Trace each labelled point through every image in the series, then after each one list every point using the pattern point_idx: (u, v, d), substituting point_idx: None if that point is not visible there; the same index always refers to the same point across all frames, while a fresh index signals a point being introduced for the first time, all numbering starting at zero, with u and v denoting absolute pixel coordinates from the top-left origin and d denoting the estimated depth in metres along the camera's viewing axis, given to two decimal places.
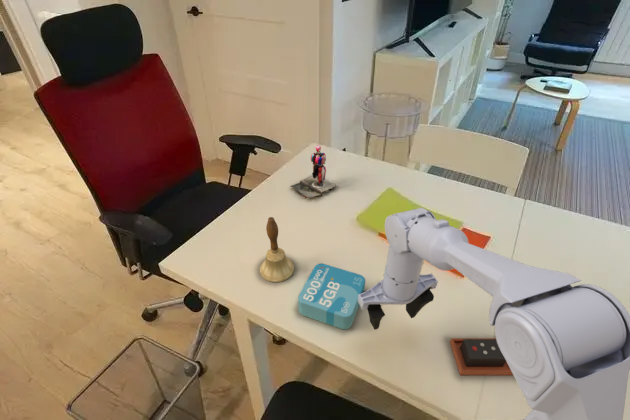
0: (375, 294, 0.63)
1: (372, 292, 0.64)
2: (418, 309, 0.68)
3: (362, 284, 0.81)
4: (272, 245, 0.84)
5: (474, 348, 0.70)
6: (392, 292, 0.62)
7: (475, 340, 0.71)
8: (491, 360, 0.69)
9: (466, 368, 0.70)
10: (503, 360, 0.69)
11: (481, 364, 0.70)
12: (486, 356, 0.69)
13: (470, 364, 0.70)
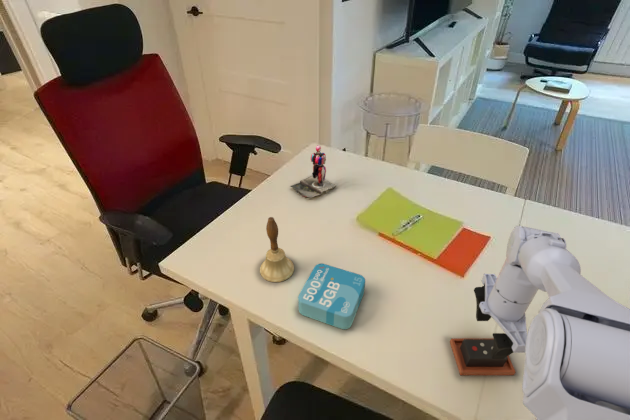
0: (516, 330, 0.59)
1: (512, 332, 0.59)
2: None
3: (362, 284, 0.81)
4: (272, 245, 0.84)
5: (474, 348, 0.70)
6: (524, 312, 0.59)
7: (475, 340, 0.71)
8: (491, 360, 0.69)
9: (466, 368, 0.70)
10: (503, 360, 0.69)
11: (481, 364, 0.70)
12: (486, 356, 0.69)
13: (470, 364, 0.70)
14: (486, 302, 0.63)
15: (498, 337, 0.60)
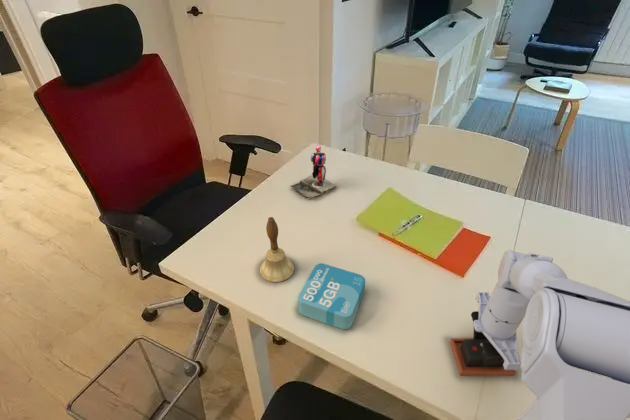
0: (508, 348, 0.62)
1: (503, 350, 0.62)
2: None
3: (362, 284, 0.81)
4: (272, 245, 0.84)
5: (474, 349, 0.70)
6: (515, 331, 0.63)
7: (475, 340, 0.71)
8: None
9: (466, 368, 0.70)
10: (503, 360, 0.69)
11: (481, 364, 0.70)
12: None
13: (470, 364, 0.70)
14: (479, 320, 0.66)
15: (487, 346, 0.64)
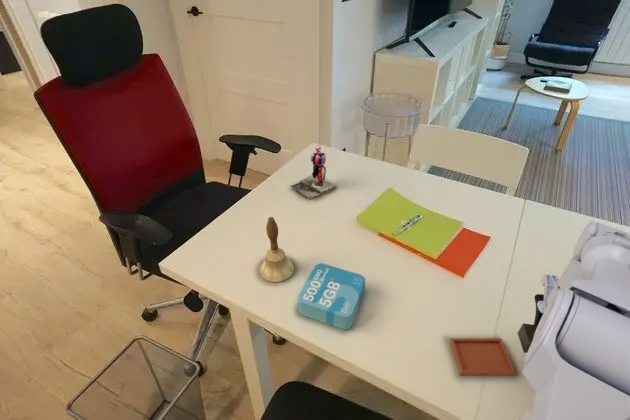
0: None
1: None
2: None
3: (362, 284, 0.81)
4: (272, 245, 0.84)
5: None
6: None
7: (536, 326, 0.66)
8: None
9: (466, 368, 0.70)
10: None
11: None
12: None
13: None
14: (545, 302, 0.61)
15: None
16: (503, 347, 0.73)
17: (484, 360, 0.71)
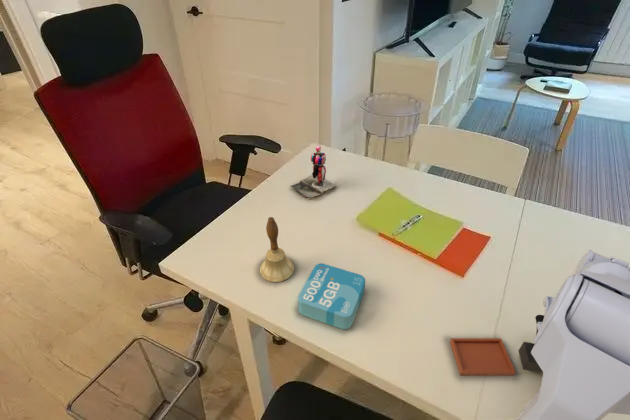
0: None
1: None
2: None
3: (362, 284, 0.81)
4: (272, 245, 0.84)
5: None
6: None
7: None
8: None
9: (466, 368, 0.70)
10: None
11: (540, 369, 0.67)
12: None
13: (528, 367, 0.68)
14: None
15: None
16: (503, 347, 0.73)
17: (484, 360, 0.71)
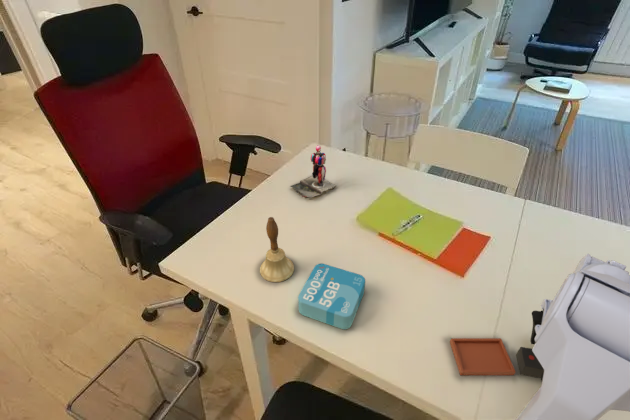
0: None
1: None
2: None
3: (362, 284, 0.81)
4: (272, 245, 0.84)
5: (531, 358, 0.69)
6: None
7: None
8: None
9: (466, 368, 0.70)
10: None
11: (537, 374, 0.68)
12: None
13: (524, 372, 0.69)
14: None
15: None
16: (503, 347, 0.73)
17: (484, 360, 0.71)
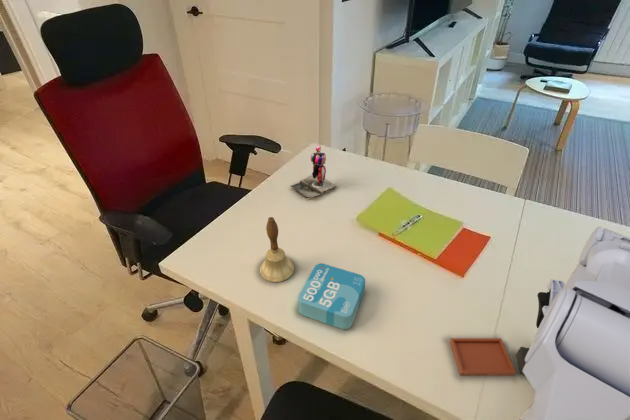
0: None
1: None
2: None
3: (362, 284, 0.81)
4: (272, 245, 0.84)
5: None
6: None
7: None
8: None
9: (466, 368, 0.70)
10: None
11: None
12: None
13: None
14: None
15: None
16: (503, 347, 0.73)
17: (484, 360, 0.71)
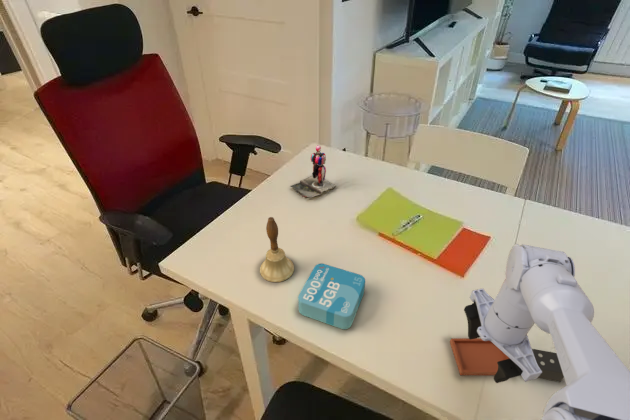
0: (523, 355, 0.53)
1: (519, 358, 0.53)
2: None
3: (362, 284, 0.81)
4: (272, 245, 0.84)
5: None
6: None
7: (533, 350, 0.70)
8: (547, 372, 0.67)
9: (466, 368, 0.70)
10: (561, 375, 0.67)
11: None
12: (543, 366, 0.68)
13: None
14: (484, 326, 0.56)
15: (504, 365, 0.54)
16: None
17: (484, 360, 0.71)
